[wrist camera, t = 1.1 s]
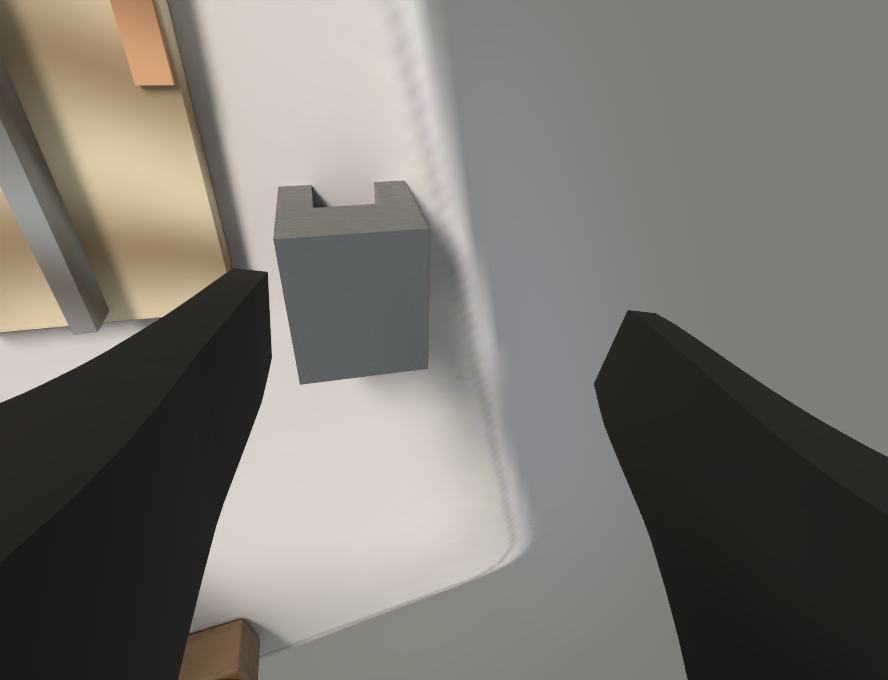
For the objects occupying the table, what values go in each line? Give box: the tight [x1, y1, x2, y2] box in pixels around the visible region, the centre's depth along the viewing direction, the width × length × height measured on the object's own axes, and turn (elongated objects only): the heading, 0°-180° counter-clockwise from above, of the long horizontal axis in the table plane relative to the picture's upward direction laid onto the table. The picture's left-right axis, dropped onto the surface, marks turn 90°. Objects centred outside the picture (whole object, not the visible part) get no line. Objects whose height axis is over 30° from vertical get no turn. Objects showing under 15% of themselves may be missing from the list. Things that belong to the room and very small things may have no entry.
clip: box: [273, 181, 429, 385], centre depth 20 cm, size 6×5×5 cm
